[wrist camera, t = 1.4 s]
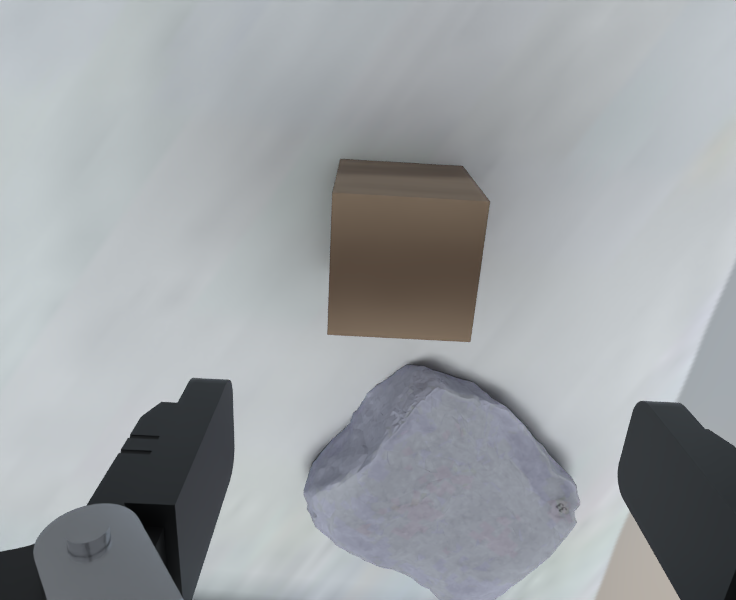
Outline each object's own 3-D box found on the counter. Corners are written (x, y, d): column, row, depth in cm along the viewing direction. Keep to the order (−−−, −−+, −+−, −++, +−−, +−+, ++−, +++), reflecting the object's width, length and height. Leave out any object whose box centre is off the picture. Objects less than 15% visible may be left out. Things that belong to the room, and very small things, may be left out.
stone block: (407, 324, 30) (288, 479, 31) (432, 359, 25) (291, 539, 26) (574, 442, 33) (461, 578, 34) (623, 492, 28) (490, 646, 29)
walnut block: (340, 158, 25) (332, 192, 19) (462, 165, 25) (489, 201, 19) (335, 273, 26) (327, 334, 21) (449, 279, 27) (470, 342, 21)
